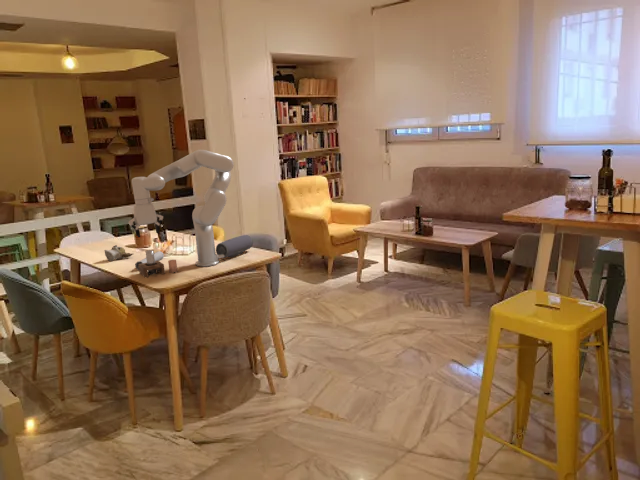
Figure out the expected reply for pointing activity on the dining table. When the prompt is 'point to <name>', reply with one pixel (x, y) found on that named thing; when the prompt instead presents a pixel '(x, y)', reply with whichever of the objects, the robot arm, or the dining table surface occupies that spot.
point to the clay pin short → (172, 266)
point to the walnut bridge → (157, 266)
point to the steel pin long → (150, 261)
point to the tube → (157, 256)
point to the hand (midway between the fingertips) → (148, 235)
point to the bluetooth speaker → (234, 246)
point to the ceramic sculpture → (116, 253)
